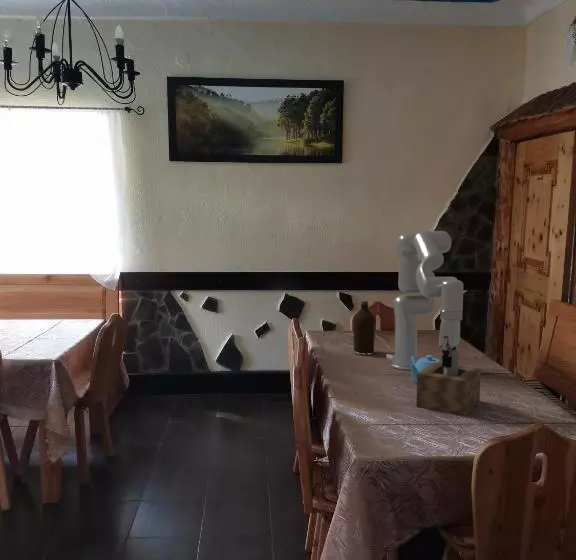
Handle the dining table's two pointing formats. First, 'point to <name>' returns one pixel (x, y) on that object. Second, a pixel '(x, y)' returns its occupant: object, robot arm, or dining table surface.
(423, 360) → the teapot
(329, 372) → the dining table surface
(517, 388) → the dining table surface
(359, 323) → the olive oil
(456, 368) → the vintage mobile phone
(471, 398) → the well block
